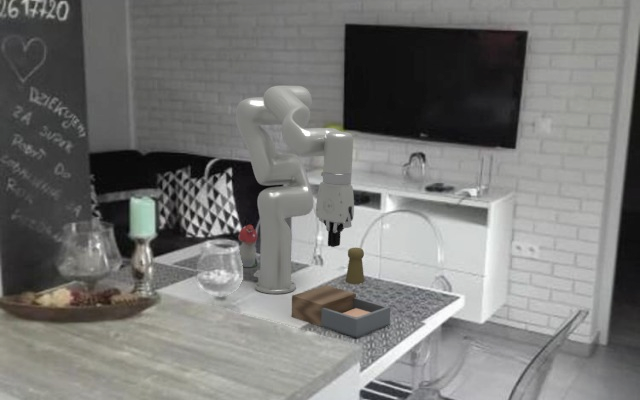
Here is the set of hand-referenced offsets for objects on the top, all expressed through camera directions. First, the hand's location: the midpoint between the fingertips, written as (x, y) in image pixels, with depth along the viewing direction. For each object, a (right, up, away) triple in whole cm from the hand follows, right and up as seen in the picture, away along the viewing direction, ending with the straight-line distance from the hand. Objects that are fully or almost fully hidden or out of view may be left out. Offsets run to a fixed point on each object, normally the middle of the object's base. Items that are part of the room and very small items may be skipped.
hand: (333, 245), depth 193 cm
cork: (+8, -14, +38) cm, 41 cm away
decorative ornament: (-28, -10, +55) cm, 62 cm away
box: (+6, -21, -3) cm, 22 cm away
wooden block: (-3, -20, +4) cm, 20 cm away
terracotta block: (+6, -18, -4) cm, 19 cm away
